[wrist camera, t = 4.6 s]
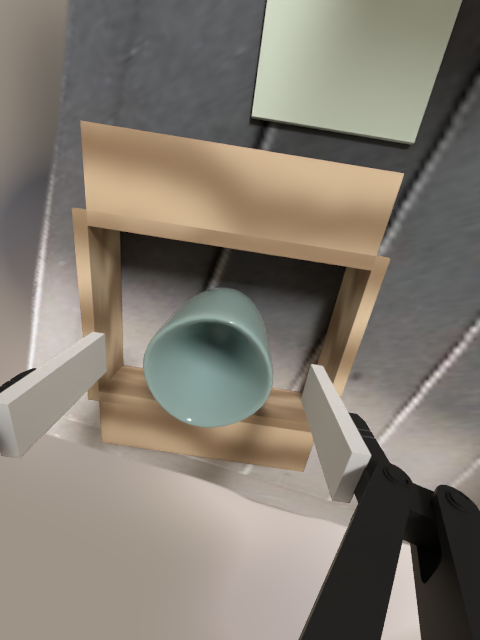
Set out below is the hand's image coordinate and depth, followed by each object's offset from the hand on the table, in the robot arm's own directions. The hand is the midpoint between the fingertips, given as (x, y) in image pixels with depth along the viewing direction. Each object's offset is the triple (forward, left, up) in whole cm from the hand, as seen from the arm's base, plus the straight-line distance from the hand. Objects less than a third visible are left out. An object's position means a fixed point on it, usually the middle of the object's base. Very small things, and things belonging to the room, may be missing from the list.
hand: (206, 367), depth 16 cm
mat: (-22, +6, -9) cm, 25 cm away
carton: (0, 0, -9) cm, 9 cm away
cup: (0, 0, -9) cm, 9 cm away
